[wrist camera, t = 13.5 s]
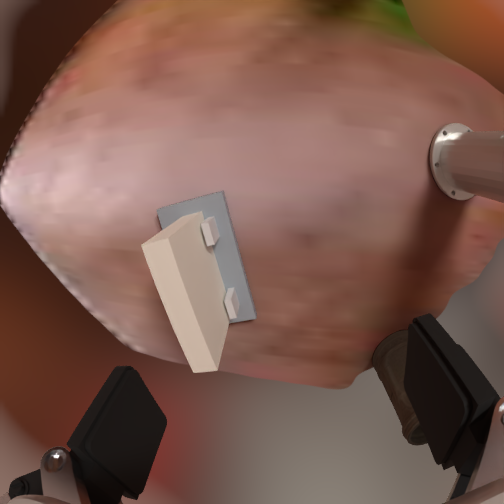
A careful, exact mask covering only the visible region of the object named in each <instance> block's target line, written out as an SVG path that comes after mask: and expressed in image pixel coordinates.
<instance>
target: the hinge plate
mask: <svg viewBox="0 0 504 504" xmlns="http://www.w3.org/2000/svg"><path fill="white" fill-rule="evenodd" d="M201 211H202V213H203V216H204V221H203V222H202V223H201V227H202V230H203V234H204V237H205V240H206V244H207V246H211V245H212V247H213V251H214V254H215V258H216V261H217V264H218V267H219V271H220V274H221V277H222V281H223V284H224V287H225V290H226V296H225V300H224V302H225V305H226V308H227V312H228V315H229V318H230V322H229V323H234V322H240V321H246V320H252V319H256V316H257V313H256V309H255V306H254V302H253V299H252V295H251V291H250V288H249V284H248V280H247V277H246V273H245V269H244V266H243V262H242V258H241V255H240V251H239V247H238V243H237V240H236V236H235V232H234V228H233V225H232V221H231V217H230V213H229V210H228V206H227V202H226V198H225V194H224V191H220V192H216V193H212V194H209V195H205V196H201V197H198V198H194V199H190V200H187V201H183V202H180V203H176V204H173V205H169V206H166V207H162V208H159V209H157V213H158V217H159V220H160V223H161V227H162V230H163V229H165V228H166V227H168V226H169V225H171V224H172V223H173V222H175V221H176V220H178V219H179V218H181V217H182V216H186V215H189V214H193V213H197V212H201Z"/></svg>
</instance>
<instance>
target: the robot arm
mask: <svg viewBox="0 0 504 504" xmlns="http://www.w3.org/2000/svg"><path fill="white" fill-rule="evenodd" d="M430 167H431V171H432V175H433V177H434V179H435V182H436V183H437V185H438V187H439V188H440V189H441V190H442V192H443V193H445V194H446V195H447V196H449V197H451V198H453V199H457V200H467V199H470V198H472V197H473V196H474V195H478V196H482V197H485V198H489V199H492V200H495V201H499V202H502V203H504V131H481V132H473V131H472V130H471V129H470V128H468V127H467V126H465V125H462V124H458V123H452V124H448V125H445V126H443V127H442V128H440V129H439V130H438V132H437V133H436V134H435V136H434V138H433V141H432V143H431V148H430ZM404 389H405V392H406V394H407V396H408V398H409V401H410V403H411V405H412V407H413V409H414V412H415V414H416V416H417V419H418V421H419V423H420V425H421V428H422V430H423V432H424V435H425V437H426V440H427V442H428V445H429V447H430V449H431V452H432V455H433V457H434V460H435V462H436V463H437V464H438V465H439V464H442V467H443V469H444V470H445V469H447V468H450V467H452V466H455V468H456V471H457V473H458V475H457V478H456V480H455V483H454V485H453V487H452V489H451V492H450V494H449V496H448V498H447V500H446V502H445V503H443V504H504V397H502V398H500V397H499V395H498V394H497V392H496V391H495V390H494V388H493V387H492V386H491V384H490V383H489V381H488V380H487V379H486V377H485V376H484V375H483V373H482V372H481V371H480V369H479V368H478V367H477V365H476V364H475V363H474V361H473V360H472V359H471V358H470V356H469V355H468V354H467V353H466V352H465V350H464V349H463V348H462V347H461V346H460V345H458V344H456V343H455V342H454V341H453V339H452V338H451V337H450V336H449V334H448V333H447V332H446V331H445V330H444V328H443V327H442V326H441V325H440V324H439V323H438V321H437V320H436V319H435V318H434V317H433V316H432V315H431V314H426V315H423V316H420V317H416V318H414V319H413V323H412V324H410V325H409V327H408V342H407V354H406V365H405V374H404ZM166 425H167V419H166V417H165V415H164V413H163V412H162V410H161V409H160V407H159V406H158V404H157V403H156V401H155V400H154V398H153V396H152V395H151V393H150V392H149V390H148V388H147V387H146V385H145V384H144V382H143V380H142V378H141V377H140V375H139V373H138V372H137V371H136V370H134V368H133V367H131V366H117V367H115V369H114V370H113V371H112V373H111V374H110V376H109V377H108V379H107V380H106V382H105V383H104V385H103V386H102V388H101V390H100V391H99V393H98V394H97V396H96V397H95V399H94V400H93V402H92V404H91V405H90V407H89V408H88V410H87V411H86V413H85V415H84V416H83V418H82V419H81V421H80V423H79V424H78V426H77V427H76V429H75V431H74V432H73V434H72V436H71V437H70V439H69V441H68V442H67V445H68V447H69V448H71V451H70V452H69V451H68V450H67V449H66V448H64V447H53V448H51V449H49V450H48V451H47V452H46V453H45V454H44V455H43V457H42V459H41V462H40V469H38V470H36V471H34V472H31V473H29V474H26V475H23V476H21V477H19V478H17V479H15V480H14V481H12V482H11V484H10V488H9V493H8V492H7V493H5V494H4V495H3V496H1V497H0V504H123V503H122V500H121V497H122V495H123V496H125V497H127V498H131V499H135V500H137V499H138V496H139V494H141V493H142V492H143V490H144V487H145V485H146V481H147V479H148V476H149V473H150V470H151V467H152V464H153V462H154V459H155V456H156V453H157V450H158V448H159V445H160V442H161V439H162V437H163V433H164V431H165V428H166Z"/></svg>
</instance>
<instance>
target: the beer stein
mask: <svg viewBox="0 0 504 504" xmlns="http://www.w3.org/2000/svg"><path fill="white" fill-rule="evenodd" d="M407 342H408V330H403V331H398V332H395V333H393V334H391V335H390V336H388V337H387V338H386V339H384V340H383V341H382V342H381V343H380V344H379V346H378V347H377V348H376V350H375V352H374V355H373V360H372V361H373V366H374V368H375V370H376V371H377V374H378V377H379V379H380V380H381V381H382V383H383V385H384V387H385V389H386V392H387V394H388V396H389V398H390V400H391V402H392V404H393V406H394V409H395V410H396V413H397V415H398V417H399V420H400V422H401V425H402V433H403V436H404V437H405V438H406V439H407V441H408V443H410V444H412V445H423V444H426V443H428V442H427V440H426V437H425V435H424V432H423V430H422V428H421V425H420V423H419V421H418V419H417V416H416V414H415V412H414V409H413V407H412V405H411V403H410V401H409V398H408V396H407V394H406V392H405V389H404V374H405V365H406V354H407Z"/></svg>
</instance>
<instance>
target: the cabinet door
mask: <svg viewBox="0 0 504 504" xmlns="http://www.w3.org/2000/svg"><path fill="white" fill-rule="evenodd" d="M203 221H204V216H203V213H202V211H201V212H197V213H193V214H189V215H186V216H182V217H181V218H179V219H178V220H176V221H175V222H173V223H172V224H171V225H169V226H168V227H166V228H165V229H163V230H162V231H161V232H159V233H158V234H156V235H155V236H153V237H152V238H151V239H149V240H148V241H147V242H145V243H144V244H142V245H141V246H142V249H143V251H144V254H145V257H146V260H147V263H148V266H149V268H150V271H151V274H152V277H153V279H154V282H155V285H156V287H157V290H158V292H159V295H160V297H161V300H162V303H163V305H164V307H165V310H166V312H167V315H168V317H169V320H170V322H171V324H172V327H173V329H174V331H175V334H176V336H177V338H178V340H179V343H180V345H181V347H182V349H183V352H184V354H185V356H186V358H187V360H188V362H189V364H190V367H191V369H192V371H193V373H198V372H209V371H217V370H218V366H219V362H220V358H221V354H222V350H223V346H224V342H225V338H226V334H227V330H228V326H229V322H230V318H229V315H228V312H227V308H226V305H225V302H224V300H225V296H226V290H225V287H224V284H223V281H222V277H221V274H220V271H219V267H218V264H217V261H216V258H215V254H214V251H213V247H212V245H211V246H207V244H206V240H205V237H204V234H203V230H202V227H201V223H202V222H203Z"/></svg>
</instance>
